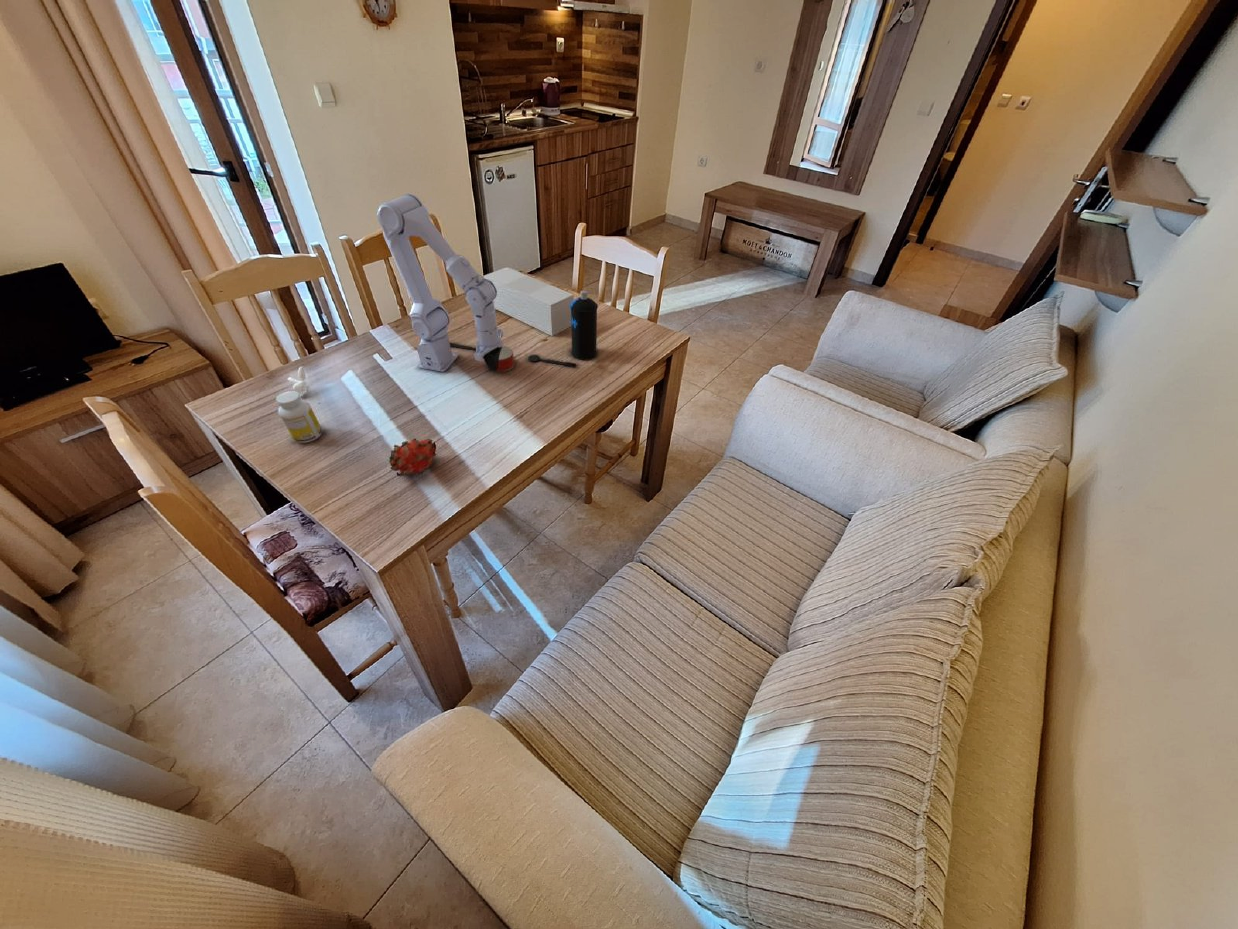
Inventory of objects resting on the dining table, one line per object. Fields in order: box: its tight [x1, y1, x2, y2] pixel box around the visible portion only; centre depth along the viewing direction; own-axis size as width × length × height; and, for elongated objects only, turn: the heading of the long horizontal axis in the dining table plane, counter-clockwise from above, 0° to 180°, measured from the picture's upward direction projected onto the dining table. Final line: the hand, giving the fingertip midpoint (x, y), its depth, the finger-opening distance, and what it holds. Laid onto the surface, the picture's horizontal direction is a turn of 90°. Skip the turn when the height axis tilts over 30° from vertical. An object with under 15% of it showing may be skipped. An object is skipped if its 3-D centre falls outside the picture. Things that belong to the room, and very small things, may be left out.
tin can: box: [494, 345, 515, 373], centre depth 142 cm, size 8×8×4 cm
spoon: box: [527, 354, 577, 368], centre depth 145 cm, size 4×15×1 cm, turn 77°
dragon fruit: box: [388, 437, 437, 477], centre depth 108 cm, size 8×8×12 cm
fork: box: [449, 342, 477, 353], centre depth 149 cm, size 2×15×1 cm, turn 77°
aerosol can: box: [570, 290, 599, 361], centre depth 143 cm, size 8×8×20 cm
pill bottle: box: [275, 390, 323, 444], centre depth 113 cm, size 6×6×12 cm
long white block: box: [483, 266, 575, 337], centre depth 163 cm, size 32×11×11 cm, turn 51°
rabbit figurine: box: [287, 365, 309, 397], centre depth 128 cm, size 6×4×8 cm
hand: (493, 369), depth 138 cm, fingers closed
